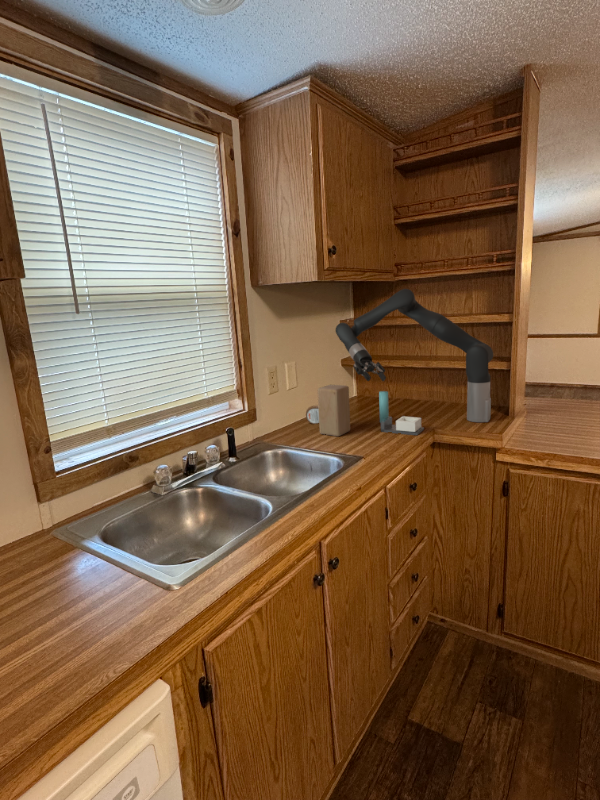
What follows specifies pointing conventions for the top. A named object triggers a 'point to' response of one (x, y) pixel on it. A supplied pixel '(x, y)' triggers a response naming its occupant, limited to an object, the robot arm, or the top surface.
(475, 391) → the robot arm
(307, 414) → the tin
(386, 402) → the dowel
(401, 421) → the socket block
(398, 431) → the grey tray
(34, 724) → the top surface
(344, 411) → the wooden block
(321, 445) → the top surface
